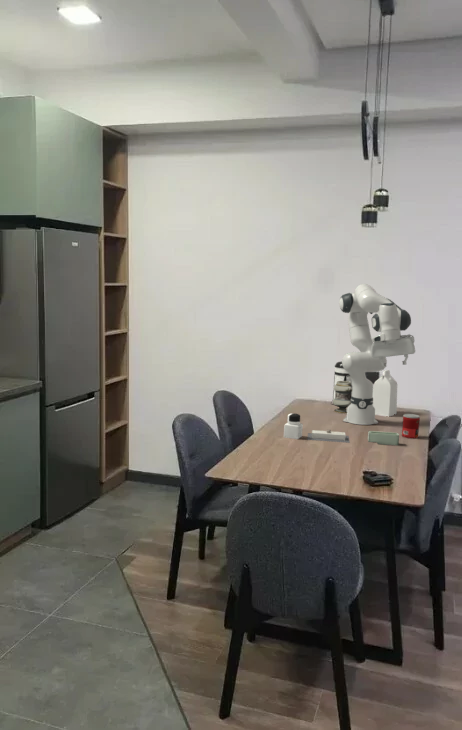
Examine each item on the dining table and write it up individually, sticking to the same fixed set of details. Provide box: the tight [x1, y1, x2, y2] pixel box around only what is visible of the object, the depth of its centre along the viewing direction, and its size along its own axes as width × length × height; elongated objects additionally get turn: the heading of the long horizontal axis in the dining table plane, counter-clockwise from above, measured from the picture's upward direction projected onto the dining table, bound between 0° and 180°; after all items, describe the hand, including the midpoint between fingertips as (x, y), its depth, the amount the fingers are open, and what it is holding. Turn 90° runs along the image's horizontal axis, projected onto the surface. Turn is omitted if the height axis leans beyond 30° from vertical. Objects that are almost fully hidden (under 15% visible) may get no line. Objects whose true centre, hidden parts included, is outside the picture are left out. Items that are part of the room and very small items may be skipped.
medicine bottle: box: [283, 413, 304, 440], centre depth 307 cm, size 7×7×12 cm
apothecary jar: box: [332, 381, 352, 414], centre depth 378 cm, size 12×12×18 cm
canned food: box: [401, 413, 421, 439], centre depth 320 cm, size 8×8×11 cm
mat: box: [307, 432, 351, 444], centre depth 309 cm, size 14×20×1 cm
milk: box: [372, 369, 398, 418], centre depth 375 cm, size 12×12×26 cm
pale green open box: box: [367, 430, 400, 446], centre depth 305 cm, size 5×14×5 cm, turn 82°
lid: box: [311, 429, 347, 440], centre depth 308 cm, size 6×16×4 cm, turn 82°
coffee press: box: [330, 360, 352, 405], centre depth 398 cm, size 17×16×30 cm
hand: (394, 365), depth 300 cm, fingers open, 8 cm apart
